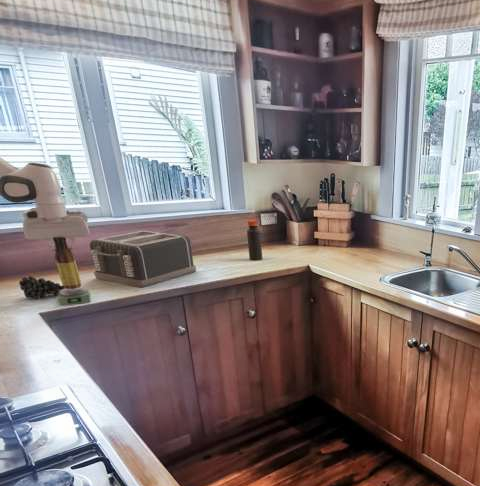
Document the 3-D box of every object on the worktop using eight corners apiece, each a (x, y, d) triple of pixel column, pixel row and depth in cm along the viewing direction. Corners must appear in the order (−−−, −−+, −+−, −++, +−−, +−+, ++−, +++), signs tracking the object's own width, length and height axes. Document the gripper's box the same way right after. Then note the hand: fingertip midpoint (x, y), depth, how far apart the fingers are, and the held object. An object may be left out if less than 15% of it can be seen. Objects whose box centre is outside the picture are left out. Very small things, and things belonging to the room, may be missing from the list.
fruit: (62, 270, 187) (16, 273, 180) (63, 281, 182) (16, 285, 175) (66, 288, 192) (22, 292, 185) (68, 300, 187) (22, 304, 180)
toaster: (85, 280, 206) (75, 241, 199) (151, 263, 235) (145, 228, 228) (133, 290, 195) (124, 249, 187) (196, 271, 224) (191, 235, 216)
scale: (60, 306, 176) (57, 298, 174) (61, 298, 184) (59, 290, 183) (90, 302, 180) (88, 295, 179) (90, 295, 188) (89, 287, 187)
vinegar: (264, 258, 252) (261, 220, 243) (259, 261, 246) (255, 222, 237) (253, 257, 253) (249, 219, 245) (247, 260, 247) (243, 221, 239)
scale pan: (58, 296, 175) (58, 294, 175) (60, 290, 183) (59, 288, 182) (87, 293, 179) (86, 291, 179) (87, 287, 187) (87, 285, 186)
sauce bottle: (71, 284, 183) (58, 233, 175) (85, 285, 183) (73, 234, 174) (58, 289, 178) (44, 236, 169) (73, 290, 177) (60, 237, 168)
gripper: (85, 209, 175) (94, 246, 181) (19, 211, 166) (31, 250, 172) (85, 211, 170) (94, 249, 176) (17, 214, 161) (29, 253, 167)
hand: (62, 249), depth 174 cm, fingers closed on sauce bottle, 4 cm apart
